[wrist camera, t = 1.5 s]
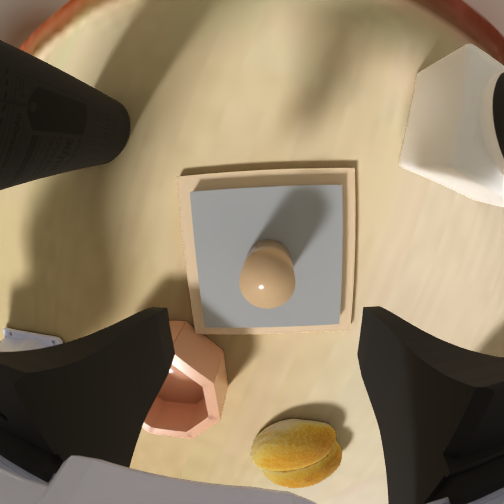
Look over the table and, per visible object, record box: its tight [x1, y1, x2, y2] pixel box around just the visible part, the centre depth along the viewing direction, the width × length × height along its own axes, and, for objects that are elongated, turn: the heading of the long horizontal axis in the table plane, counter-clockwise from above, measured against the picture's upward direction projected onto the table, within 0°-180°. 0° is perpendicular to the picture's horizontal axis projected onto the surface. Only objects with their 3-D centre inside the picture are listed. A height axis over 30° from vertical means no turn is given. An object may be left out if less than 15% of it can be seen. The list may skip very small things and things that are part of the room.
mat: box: [177, 168, 355, 334], centre depth 20 cm, size 11×11×1 cm
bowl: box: [142, 321, 228, 439], centre depth 21 cm, size 9×9×4 cm
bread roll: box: [251, 419, 342, 488], centre depth 23 cm, size 8×9×4 cm
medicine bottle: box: [399, 43, 504, 208], centre depth 11 cm, size 7×7×12 cm
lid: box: [190, 184, 343, 328], centre depth 17 cm, size 9×9×4 cm
